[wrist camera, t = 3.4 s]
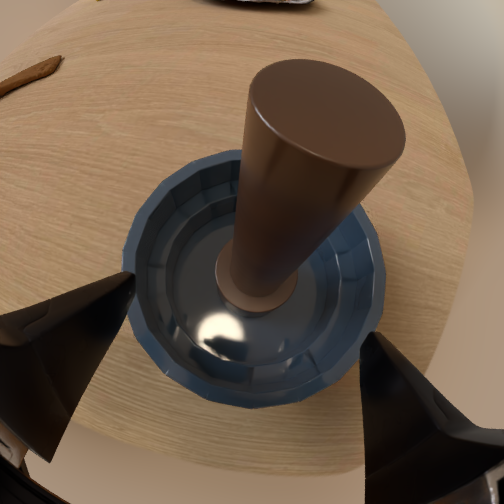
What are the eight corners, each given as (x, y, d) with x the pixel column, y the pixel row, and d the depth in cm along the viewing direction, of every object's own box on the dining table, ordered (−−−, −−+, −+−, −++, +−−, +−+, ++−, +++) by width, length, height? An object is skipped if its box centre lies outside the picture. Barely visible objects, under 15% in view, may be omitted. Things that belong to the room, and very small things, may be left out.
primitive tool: (62, 56, 25) (57, 40, 22) (54, 72, 24) (47, 56, 21) (-18, 103, 22) (-26, 92, 19) (-28, 123, 21) (-37, 112, 17)
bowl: (359, 369, 16) (400, 375, 12) (155, 394, 15) (130, 412, 10) (327, 190, 21) (352, 152, 16) (149, 198, 19) (131, 158, 14)
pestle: (290, 313, 17) (472, 220, 3) (219, 320, 16) (194, 228, 3) (281, 246, 18) (386, 60, 5) (214, 251, 17) (201, 38, 4)
